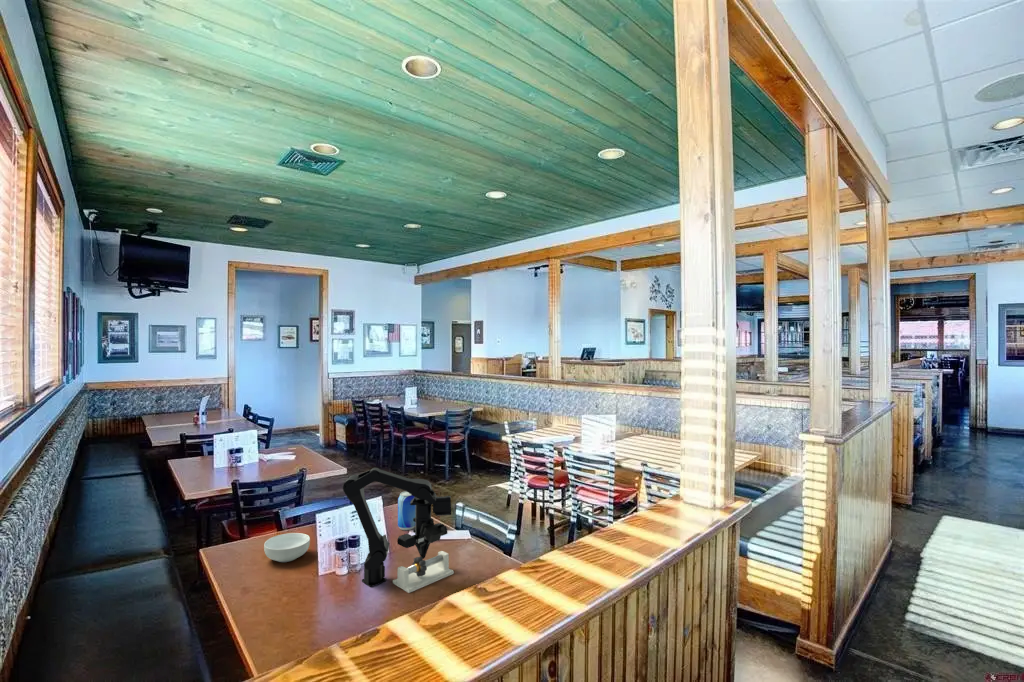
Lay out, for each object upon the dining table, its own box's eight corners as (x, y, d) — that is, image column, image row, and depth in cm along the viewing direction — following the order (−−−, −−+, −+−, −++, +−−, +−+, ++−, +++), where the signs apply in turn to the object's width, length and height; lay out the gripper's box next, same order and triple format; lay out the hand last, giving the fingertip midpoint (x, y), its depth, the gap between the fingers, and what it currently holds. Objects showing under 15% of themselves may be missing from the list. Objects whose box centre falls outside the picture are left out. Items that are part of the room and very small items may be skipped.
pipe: (405, 577, 174) (405, 570, 174) (400, 575, 176) (400, 568, 176) (445, 561, 187) (445, 554, 187) (441, 559, 189) (441, 552, 189)
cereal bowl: (298, 568, 189) (298, 549, 189) (255, 567, 189) (255, 549, 189) (316, 549, 206) (316, 532, 206) (277, 548, 206) (277, 531, 206)
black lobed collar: (423, 579, 177) (423, 560, 177) (412, 573, 182) (412, 554, 182) (426, 578, 178) (426, 559, 178) (415, 571, 183) (415, 553, 183)
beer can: (406, 532, 225) (406, 497, 225) (394, 528, 230) (394, 493, 230) (419, 526, 231) (420, 492, 231) (407, 522, 236) (408, 489, 236)
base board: (408, 593, 171) (408, 574, 171) (392, 583, 178) (392, 565, 178) (453, 573, 185) (453, 556, 185) (437, 565, 192) (437, 548, 192)
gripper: (415, 528, 169) (414, 574, 169) (457, 514, 182) (456, 557, 182) (396, 520, 176) (396, 563, 177) (438, 507, 190) (438, 548, 190)
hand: (423, 558), depth 181 cm, fingers closed
